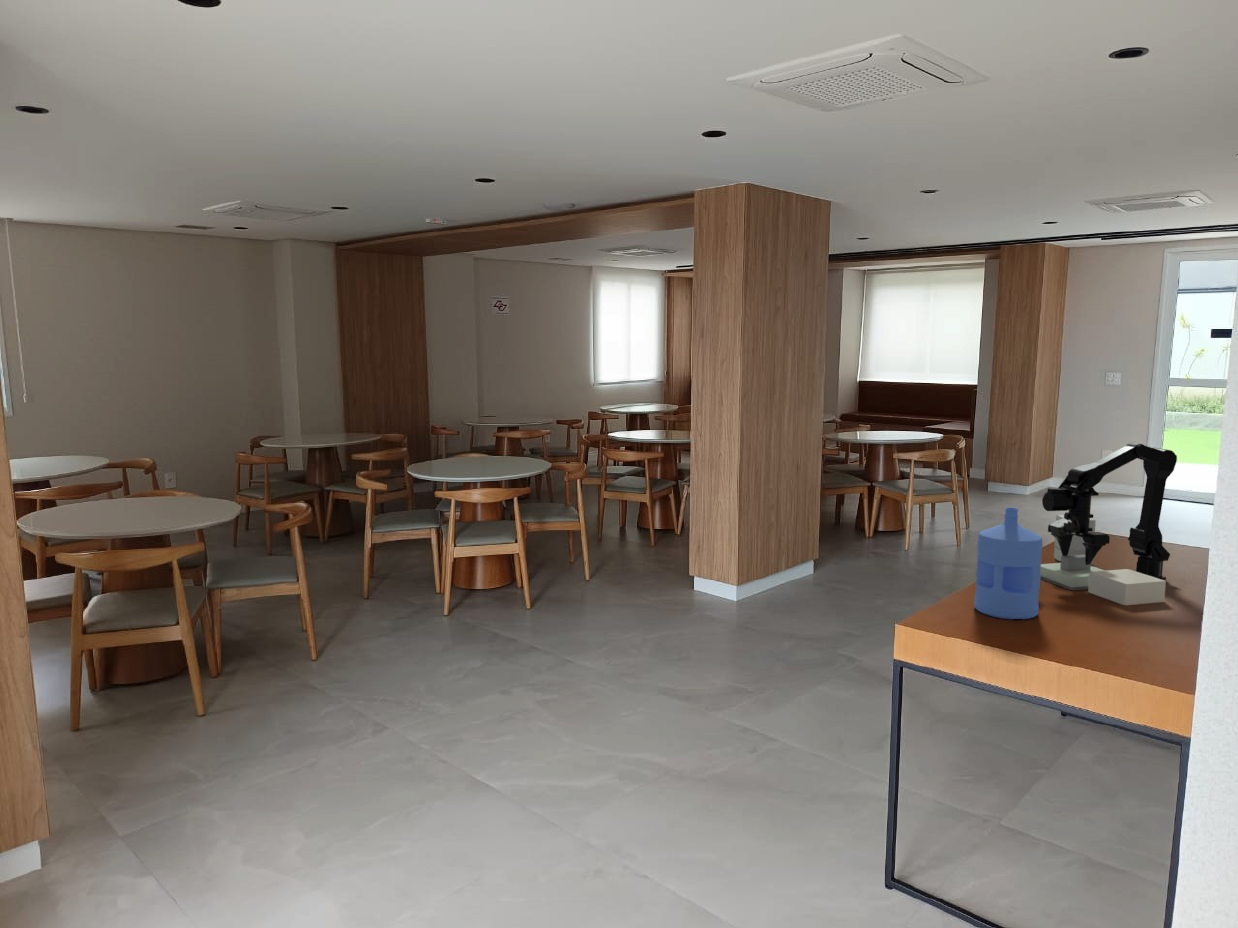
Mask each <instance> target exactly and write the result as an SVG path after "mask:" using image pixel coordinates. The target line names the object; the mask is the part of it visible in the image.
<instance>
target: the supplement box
mask: <svg viewBox="0 0 1238 928" xmlns="http://www.w3.org/2000/svg"><path fill="white" fill-rule="evenodd" d="M1063 518H1064V514H1056V516H1055V521H1057V520H1060V519H1063ZM1096 522H1097V521H1096V519H1093V518H1090V523H1089V527H1091V528H1092V531H1089V532H1096ZM1080 534H1081V533H1080ZM1082 543H1085V542H1084V540H1083V538H1082V537H1079V536H1075V535H1073V537H1072V541H1071V545H1070V548H1069V552H1068V555H1067V556H1069V555H1083V554H1084V555H1085V547H1084V545H1083V544H1082ZM1053 551H1054V552H1053V559H1054V560H1055V561H1058V562H1060V561H1061V556H1062V552H1061V549H1060V546H1059V543H1058V540H1057V539H1056V538H1055V537H1054V549H1053ZM1091 566H1094V559H1093V560H1092V562H1091Z"/></svg>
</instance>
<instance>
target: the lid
mask: <svg viewBox="0 0 1238 928" xmlns="http://www.w3.org/2000/svg"><path fill="white" fill-rule="evenodd" d="M1095 571H1106V570H1105V569H1102V568H1099V567H1096V566H1094V565H1091V563H1090V565H1086V562H1085V555H1084V554H1083V555H1069V556H1061V562H1055V563H1053V562H1052V563H1041V568H1040V575H1041V576H1042V577H1045V578H1047V579H1050V580H1053V581H1055V582H1058V583H1061V584H1063V585H1066V586H1069V587H1072V588H1073V587H1085V586H1089V573H1090V572H1095Z"/></svg>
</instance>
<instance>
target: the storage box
mask: <svg viewBox="0 0 1238 928" xmlns="http://www.w3.org/2000/svg"><path fill="white" fill-rule="evenodd" d="M1166 582H1167V580H1166V579H1158V578H1155V577H1152V576H1149V575H1145V574H1142V573H1139V572H1136V570H1133V569H1130V568H1121V569H1111V570H1110V569H1109V570H1105V571H1095V572H1090V573H1089V587H1088V589H1087V590H1088V594H1089V593H1090V594H1093V595H1095V596H1098V597H1100V598H1104V599H1105V600H1108V601H1111V602H1114V603H1117V604H1119V605H1122V606H1132V605H1134V606H1135V605H1145V604H1157V603H1158V604H1159V603H1165V597H1166V584H1167V583H1166Z"/></svg>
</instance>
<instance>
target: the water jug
mask: <svg viewBox="0 0 1238 928" xmlns="http://www.w3.org/2000/svg"><path fill="white" fill-rule="evenodd" d="M1004 512H1005V513H1004V522H1003V523H1002V524H998V525H996V526H993V527H992V526H991V527H990V528H987V529H984V530H981V531H980V532H979V533H978V538H977V546H976V547H977V562H976V563H977V564H976V570H975V571H976V580H975V581H976V582H975V594H974V595H975V597H974V602H973V603H974V608H975V610H977V611H978V612H979V613H982V614H983V615H986V616H988V617H989V616H990V617H994V618H998V619H1005V620H1013V619H1022V620H1028V619H1032V618H1035V617H1036V616H1038V615H1039V610H1040V605H1039V600H1040V596H1039V595H1040V585H1041V581H1042V579H1041V575H1040V568H1041V564H1042V555H1043V538H1042V536H1040V535H1039V534H1037V533H1035V532H1033V531H1031V530H1030V529H1027V528H1025V527H1023V526H1022V525H1019V523H1018V518H1019V515H1018V512H1019V509H1018V508H1015V507H1005V508H1004Z"/></svg>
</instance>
